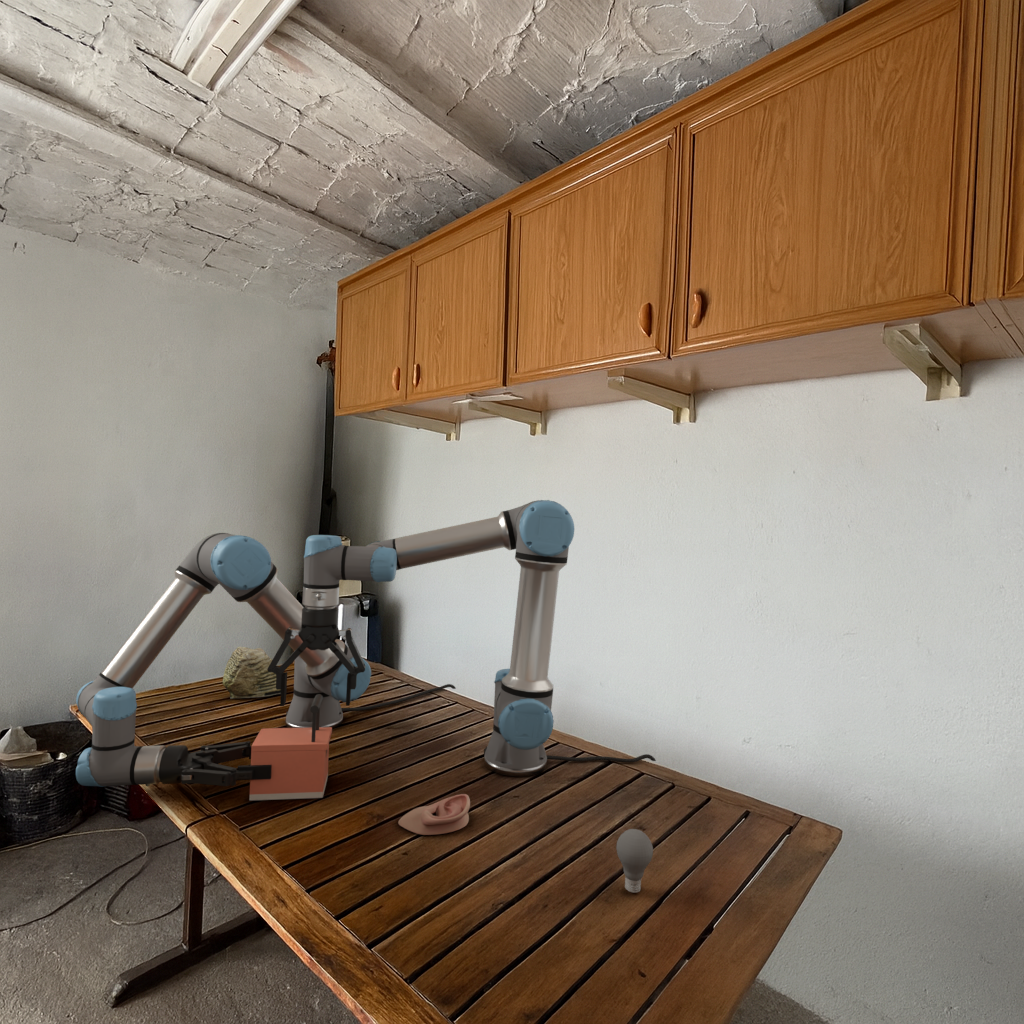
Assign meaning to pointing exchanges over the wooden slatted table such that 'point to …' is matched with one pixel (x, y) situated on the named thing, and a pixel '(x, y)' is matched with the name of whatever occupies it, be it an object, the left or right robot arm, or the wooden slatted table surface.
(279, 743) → the lid
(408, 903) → the wooden slatted table surface
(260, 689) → the fossil
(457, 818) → the anatomical model
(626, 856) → the light bulb
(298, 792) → the chest
